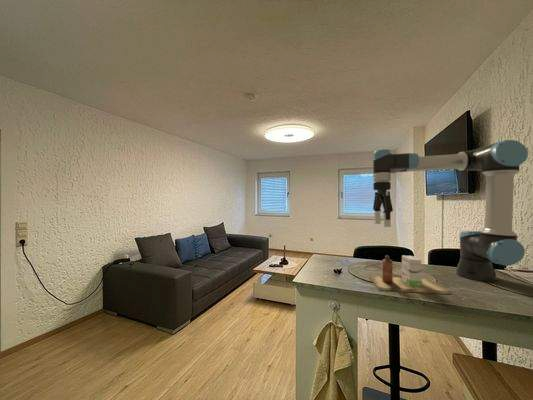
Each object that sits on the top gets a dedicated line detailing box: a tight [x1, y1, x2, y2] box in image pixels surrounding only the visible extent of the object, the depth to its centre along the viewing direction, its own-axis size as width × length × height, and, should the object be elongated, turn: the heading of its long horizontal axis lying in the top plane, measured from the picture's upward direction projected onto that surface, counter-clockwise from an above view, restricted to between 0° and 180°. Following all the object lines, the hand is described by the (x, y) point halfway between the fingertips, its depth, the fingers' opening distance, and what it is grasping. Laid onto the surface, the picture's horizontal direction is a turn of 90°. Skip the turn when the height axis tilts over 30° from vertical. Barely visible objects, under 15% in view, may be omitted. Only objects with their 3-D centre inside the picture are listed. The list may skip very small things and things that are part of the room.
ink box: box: [401, 254, 423, 287], centre depth 102 cm, size 9×5×12 cm, turn 171°
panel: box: [368, 275, 451, 295], centre depth 103 cm, size 28×14×1 cm, turn 81°
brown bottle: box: [382, 254, 394, 284], centre depth 104 cm, size 4×4×12 cm
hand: (382, 225), depth 111 cm, fingers open, 13 cm apart
